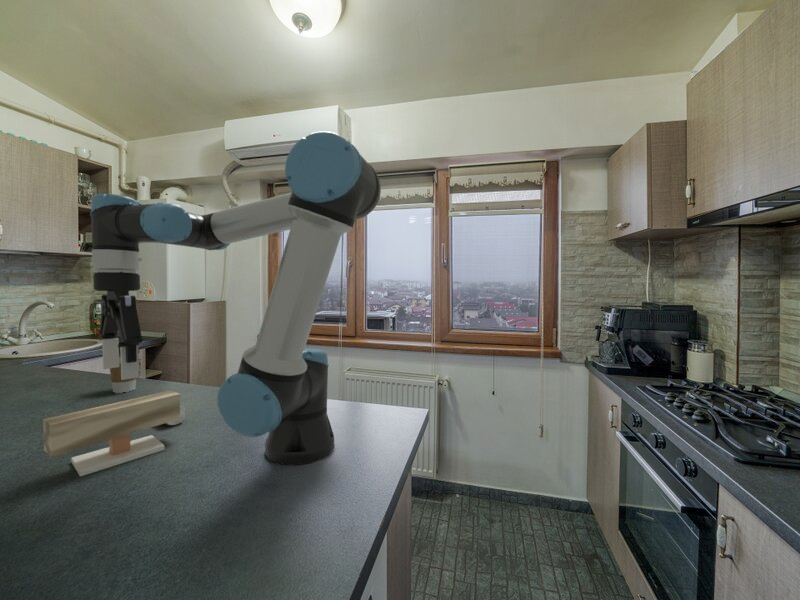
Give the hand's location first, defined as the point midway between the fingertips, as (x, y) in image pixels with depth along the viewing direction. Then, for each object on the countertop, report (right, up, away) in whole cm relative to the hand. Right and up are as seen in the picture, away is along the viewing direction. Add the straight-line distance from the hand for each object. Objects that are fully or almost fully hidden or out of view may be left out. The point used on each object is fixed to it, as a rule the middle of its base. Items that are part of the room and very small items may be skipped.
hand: (120, 372), depth 73 cm
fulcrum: (-1, -18, +1) cm, 18 cm away
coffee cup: (-33, -15, +43) cm, 57 cm away
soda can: (+1, -15, +17) cm, 22 cm away
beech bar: (-1, -13, +1) cm, 13 cm away
